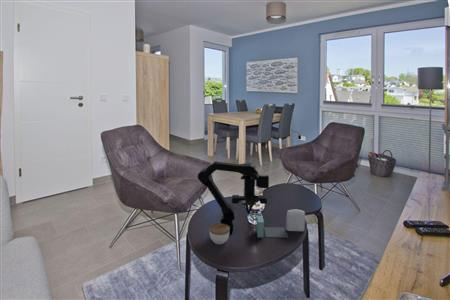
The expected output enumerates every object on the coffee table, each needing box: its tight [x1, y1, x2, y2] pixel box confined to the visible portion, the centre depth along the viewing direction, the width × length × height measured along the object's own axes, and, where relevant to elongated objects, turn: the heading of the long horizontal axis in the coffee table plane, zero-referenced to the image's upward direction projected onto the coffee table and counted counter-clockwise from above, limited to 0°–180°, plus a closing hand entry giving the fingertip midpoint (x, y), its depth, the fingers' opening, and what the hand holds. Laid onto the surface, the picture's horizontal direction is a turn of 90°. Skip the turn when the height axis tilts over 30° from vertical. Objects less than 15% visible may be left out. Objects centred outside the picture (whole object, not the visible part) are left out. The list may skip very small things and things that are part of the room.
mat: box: [264, 226, 289, 239], centre depth 167 cm, size 12×11×1 cm
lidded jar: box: [208, 222, 230, 245], centre depth 156 cm, size 11×11×9 cm
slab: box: [256, 215, 265, 238], centre depth 165 cm, size 3×8×9 cm, turn 179°
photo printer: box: [285, 209, 306, 232], centre depth 169 cm, size 10×4×12 cm, turn 86°
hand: (248, 213), depth 163 cm, fingers closed
